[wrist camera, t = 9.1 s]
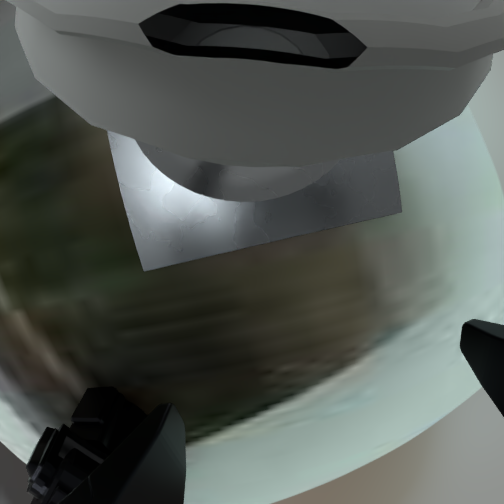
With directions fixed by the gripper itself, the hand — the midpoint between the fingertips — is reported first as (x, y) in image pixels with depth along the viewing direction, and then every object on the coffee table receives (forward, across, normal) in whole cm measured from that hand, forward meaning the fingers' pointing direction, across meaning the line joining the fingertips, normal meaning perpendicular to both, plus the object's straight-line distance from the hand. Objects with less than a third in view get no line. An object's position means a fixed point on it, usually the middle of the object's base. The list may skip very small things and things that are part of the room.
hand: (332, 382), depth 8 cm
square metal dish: (+10, 0, -10) cm, 14 cm away
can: (+7, 0, -10) cm, 12 cm away
